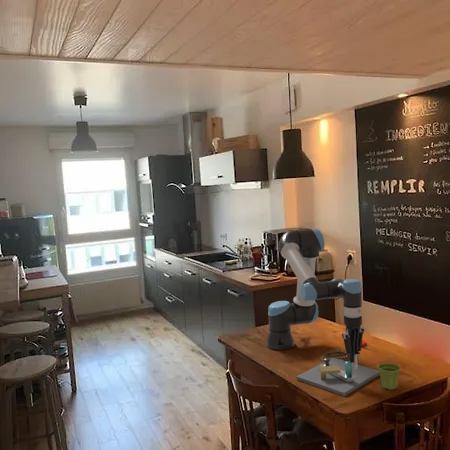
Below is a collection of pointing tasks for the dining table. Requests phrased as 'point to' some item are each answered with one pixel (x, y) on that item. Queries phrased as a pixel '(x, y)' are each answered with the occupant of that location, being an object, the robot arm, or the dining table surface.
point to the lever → (343, 375)
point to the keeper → (328, 371)
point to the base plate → (336, 383)
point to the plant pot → (389, 375)
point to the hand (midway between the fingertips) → (354, 368)
